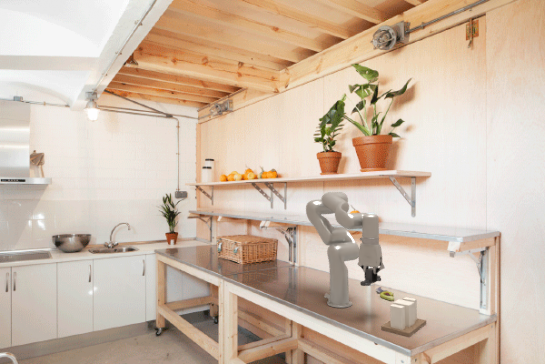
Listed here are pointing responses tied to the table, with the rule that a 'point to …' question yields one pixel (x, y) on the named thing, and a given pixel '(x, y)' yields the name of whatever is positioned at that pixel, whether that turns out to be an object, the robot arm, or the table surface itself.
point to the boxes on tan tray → (404, 318)
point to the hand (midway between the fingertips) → (371, 280)
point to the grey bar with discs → (369, 277)
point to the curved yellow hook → (385, 294)
